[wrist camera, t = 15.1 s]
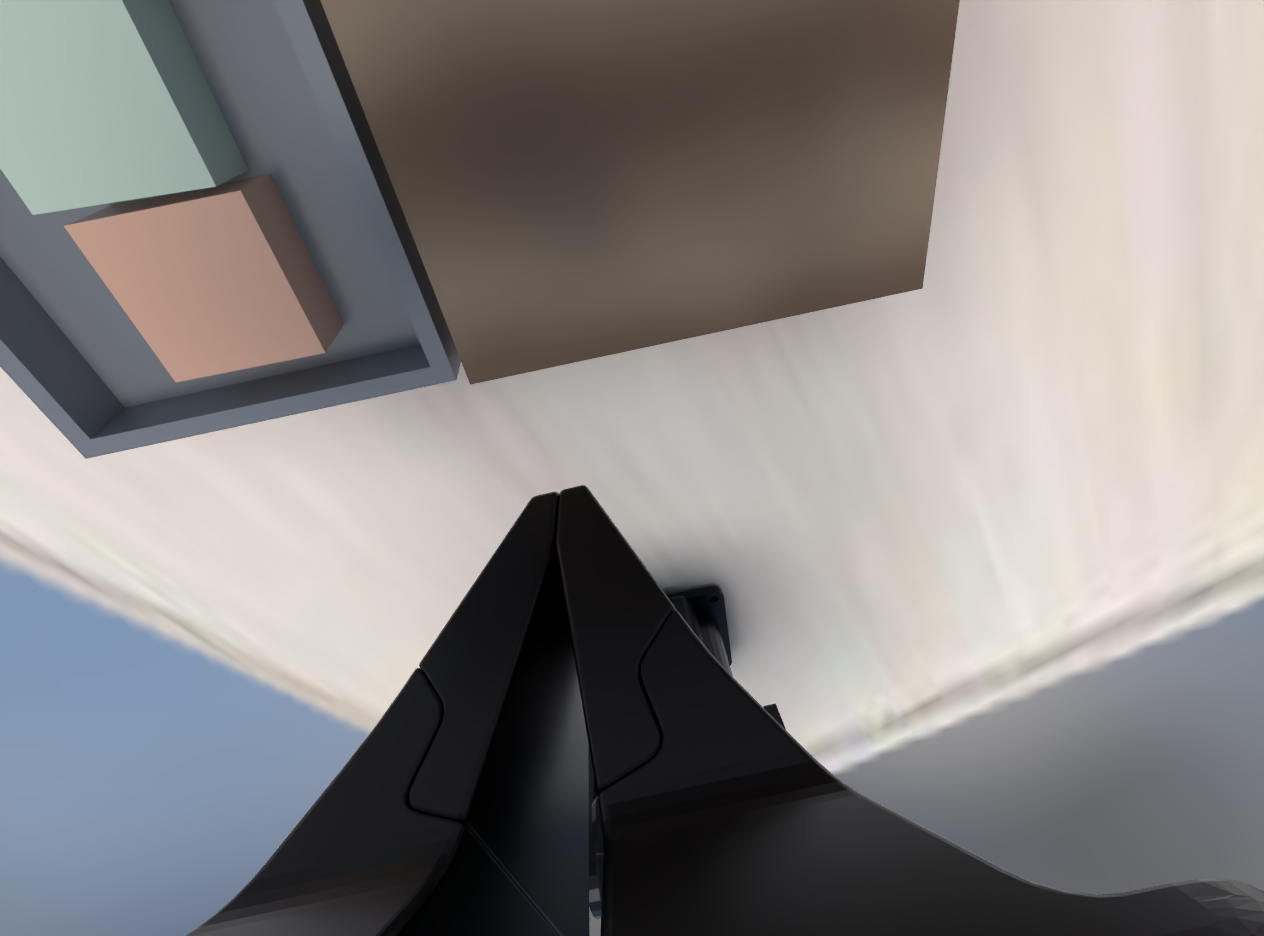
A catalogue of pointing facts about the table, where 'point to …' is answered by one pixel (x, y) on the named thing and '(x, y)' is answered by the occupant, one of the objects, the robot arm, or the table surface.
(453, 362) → the tray
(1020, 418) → the table surface
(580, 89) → the walnut board
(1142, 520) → the table surface
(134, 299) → the terracotta tile
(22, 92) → the sage tile
